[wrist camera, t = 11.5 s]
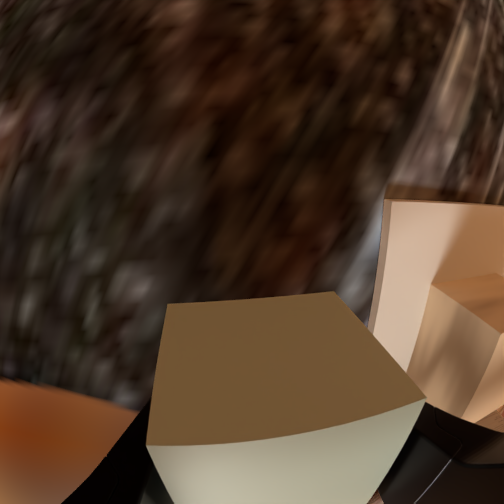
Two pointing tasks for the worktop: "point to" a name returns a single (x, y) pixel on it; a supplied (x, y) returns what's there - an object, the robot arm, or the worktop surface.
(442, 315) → the maple block
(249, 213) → the worktop surface
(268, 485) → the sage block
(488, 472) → the robot arm
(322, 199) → the worktop surface
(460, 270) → the baseplate
